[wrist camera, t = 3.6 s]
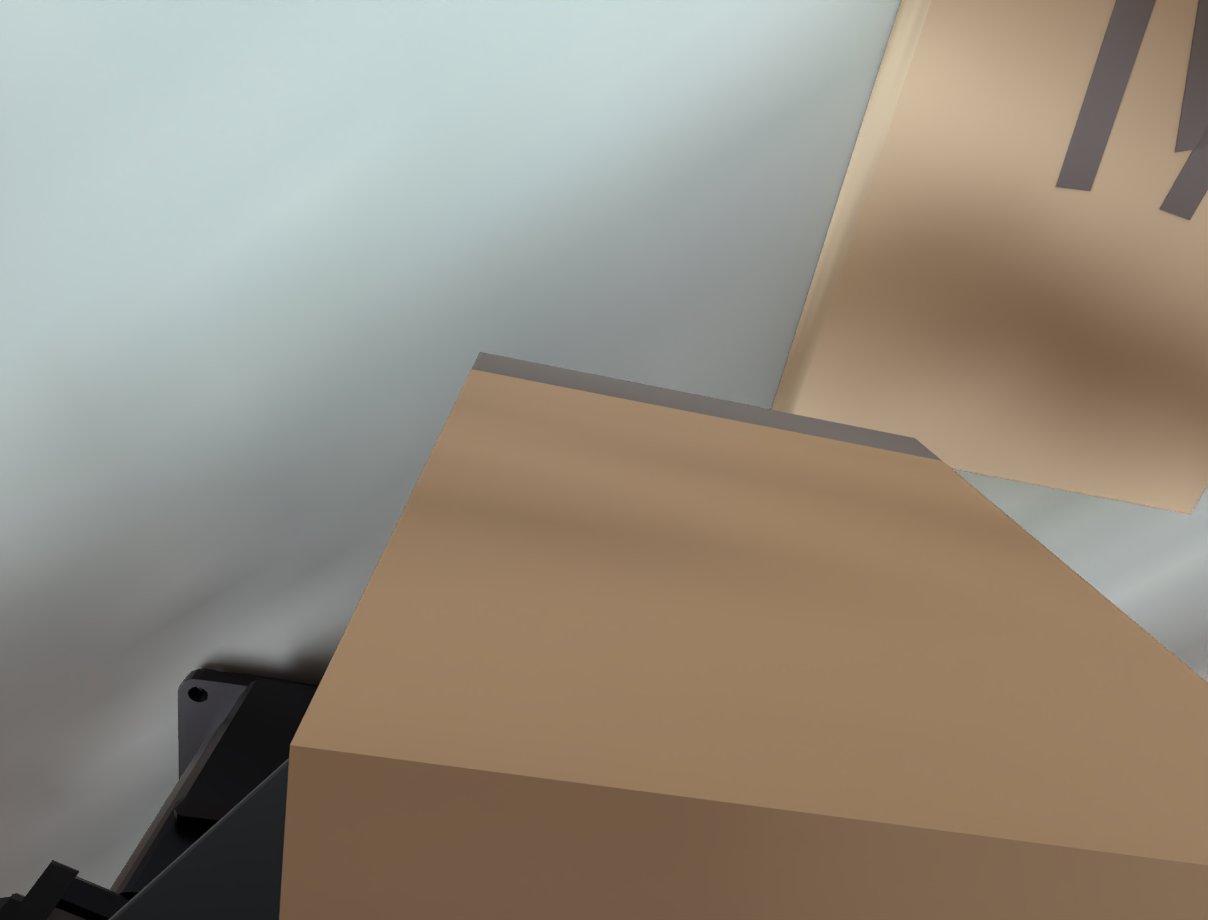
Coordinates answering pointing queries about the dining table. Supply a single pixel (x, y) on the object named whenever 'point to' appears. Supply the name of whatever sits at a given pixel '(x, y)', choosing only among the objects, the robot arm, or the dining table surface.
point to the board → (1026, 249)
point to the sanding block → (731, 687)
